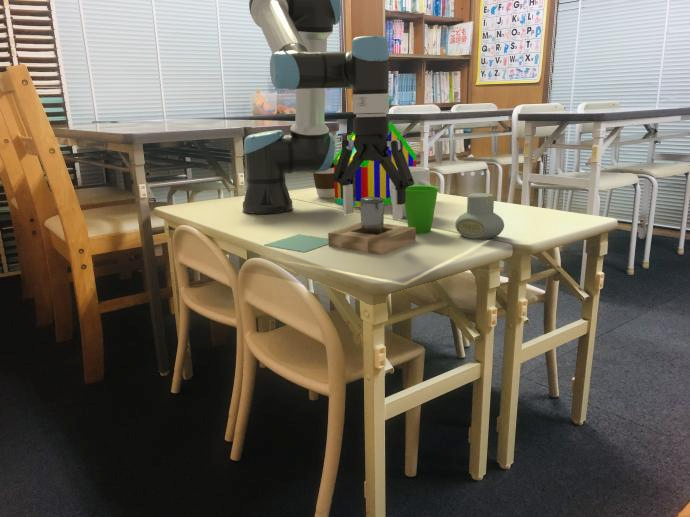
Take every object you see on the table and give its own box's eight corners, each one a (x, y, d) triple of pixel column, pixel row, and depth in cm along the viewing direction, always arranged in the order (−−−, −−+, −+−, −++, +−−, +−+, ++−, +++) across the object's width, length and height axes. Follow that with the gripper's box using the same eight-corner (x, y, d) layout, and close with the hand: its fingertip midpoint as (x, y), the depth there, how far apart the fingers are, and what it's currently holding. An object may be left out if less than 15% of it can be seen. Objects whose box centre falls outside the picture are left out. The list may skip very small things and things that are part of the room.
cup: (397, 229, 137) (397, 185, 134) (433, 228, 138) (434, 184, 135) (404, 238, 128) (404, 191, 125) (442, 236, 129) (443, 189, 126)
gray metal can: (356, 244, 122) (356, 199, 119) (369, 239, 126) (368, 196, 123) (375, 247, 119) (375, 201, 116) (388, 242, 123) (387, 198, 120)
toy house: (365, 208, 167) (363, 123, 160) (335, 203, 176) (332, 123, 169) (415, 197, 183) (416, 120, 176) (385, 193, 192) (385, 120, 185)
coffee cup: (305, 197, 189) (303, 162, 186) (328, 193, 196) (327, 159, 193) (325, 200, 181) (324, 164, 178) (349, 196, 188) (348, 161, 185)
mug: (446, 218, 149) (448, 169, 146) (416, 223, 143) (416, 173, 140) (411, 210, 161) (411, 165, 158) (381, 215, 155) (381, 168, 152)
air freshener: (449, 237, 128) (450, 195, 125) (467, 231, 134) (468, 190, 131) (492, 244, 121) (494, 199, 118) (509, 237, 127) (511, 194, 124)
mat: (264, 247, 123) (263, 244, 123) (299, 236, 132) (299, 234, 132) (304, 254, 116) (304, 251, 116) (338, 242, 125) (338, 240, 125)
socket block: (328, 248, 121) (328, 232, 120) (364, 235, 132) (364, 221, 131) (381, 257, 113) (381, 240, 112) (415, 242, 124) (415, 227, 123)
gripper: (314, 116, 119) (318, 214, 125) (412, 115, 105) (412, 225, 111) (335, 115, 125) (338, 208, 131) (431, 114, 111) (429, 218, 116)
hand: (372, 216), depth 121 cm, fingers open, 12 cm apart
